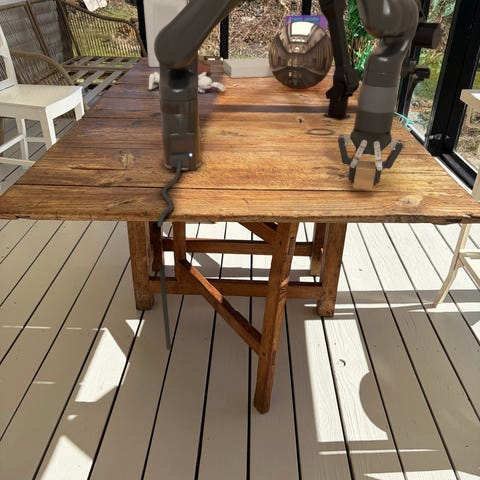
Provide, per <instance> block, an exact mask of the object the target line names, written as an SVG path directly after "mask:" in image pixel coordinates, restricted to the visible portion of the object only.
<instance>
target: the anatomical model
mask: <svg viewBox="0 0 480 480" xmlns="http://www.w3.org/2000/svg"><path fill="white" fill-rule="evenodd" d="M211 67H212V66H211V62H210V60H209V59H208V57H207V56H206V55H201V54H200V53H198V75H200V74H204V73H203V72H206V76H207V75H209V74H210V72H211Z"/></svg>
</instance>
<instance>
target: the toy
mask: <svg viewBox="0 0 480 480" xmlns="http://www.w3.org/2000/svg"><path fill="white" fill-rule="evenodd" d="M203 73H204V74H200V75H198V76H199V81H198V93H201V94H203V93H205V92H206V90H210V89H212V88H216V89H217V88H218V90H220V91H221V92H223V93H224V92H225V91H227V88H226V86H225V85H224V84H223V83H221V82H219V81H218V82H217V81H214V82H213V80H212V78H211V77H209V76H207V75H206V72H203ZM159 77H160V72H157V71H154V72H153V73H150V74H149V77H148V91H151V90H154V89H156V88H159Z"/></svg>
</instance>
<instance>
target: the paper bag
mask: <svg viewBox="0 0 480 480" xmlns="http://www.w3.org/2000/svg"><path fill="white" fill-rule="evenodd" d="M187 4H188V0H143V10H144V11H143V13H144V23H145V36H146V48H147V49H146V50H147V59H148V61H147V63H148V67H149V68H159V62H158V60H157V59H156V56H155V52H154V41H155V38H156V36H157V34H158V32H159V31H160V30H161V29H162V28H163V27H164V26H165V25H167V24H169V23H170V22H171V21H172V20H173V19H174V18H175V17H176V16H177V15H178V13H179V12H180V11H181V10H182V9H183V8H184V7H185V6H186V5H187Z"/></svg>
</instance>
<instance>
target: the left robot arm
mask: <svg viewBox="0 0 480 480" xmlns="http://www.w3.org/2000/svg"><path fill="white" fill-rule="evenodd" d="M242 2H243V0H189V1H187V5H186V6H185V7H184V8H183V9H182V10H181V11H180V12H179V13H178V15H177V16H176V17H175V18H174V19H173V20H172V21H171V22H170V23H169V24H167V25H165V26H164V27H163V28H162V29H161V30H160V31H159V32H158V34H157V36H156V38H155V41H154V52H155V56H156V59H157V60H158V62H159V67H158V69H159V74H160V77H159V86H158V96H159V111H160V123H161V124H160V125H161V138H162V139H161V140H162V151H163V166H164V167H165V168H166V169H168V170H170V171H171V172H175V175H174V176H173V179H172V180H171V181H170V182H169V183H168V184H166V185H164V187H163V188H162V190H161V195H162V197H163V199H164V200H165V202H166V203H167V205H168V207H167V208H166V209H163V211H162V212H161V213H160V214H159V217H158V220H157V227H159V228H160V227H163V225H164V221H165V219H166V216H167V215H169V214H170V213H172V211H173V210H174V202H173V200H172V199H171V197H170V196H169V195H168V193H167V192H168V190H170V188H172V187H174V186H175V184H176V183H178V181H179V178H180V175H181V172H187V171H197V168H199V167H200V166H201V165H202V162H201V142H200V113H199V110H200V108H199V91H198V81H199V76H198V54H199V50H200V49H201V47H202V46H203V44H204V43H205V41H207V39H208V37H209V36H210V35H211V34H212V32H213V30H214V29H215V28H216V27H217V26H218V25H219V24H220V23H221V22H222V21H223V20H224V19H225V18H226V17H227V16H228V15H230V14H231V13H232V12H233V11H234V9H236V8H237V7H238V5H240V4H241V3H242ZM356 6H357V10H358V14H359V18H360V22H361V24H362V25H361V26H362V27H363V28H364V30H365V32H366V33H367V34H368V35H369V36H370V37H372V38H374V39H377V40H380V41H379V44H378V46H377V48H375V49H374V50H372V51H370V52H369V53H368V54H367V55H366V58H365V61H364V64H365V66H364V65H363V70H364V72H363V71H362V72H363V73H362V80H361V84H360V89H359V92H358V97H357V102H356V103H357V105H356V112H355V118H354V126H353V129H352V131H351V132H350V134H346V135H344V134H339V135H338V137H337V143H338V148H339V153H340V158H341V162H342V165H347V166H348V167H349V169H348V175H347V179H348V180H347V181H350V184H353V183H354V178H355V171H356V164H357V162H358V160H360V159H361V157H362V155H371V156H374V158H375V164H376V172H375V177H374V183H373V187H376V185H377V184H379V183H380V180H381V176H382V171H383V170H385V169H386V170H390V169H391V168H392V167H393V165H394V163H395V162H396V160H397V159H398V157H399V155H400V153H401V151H402V150H403V148H404V144H403V141H402V140H400V139H395V138H393V137H392V134H391V133H392V132H391V131H392V126H393V122H394V117H395V111H396V105H397V101H398V90H399V83H400V78H401V76H400V73H401V67H402V62H403V60H404V58H405V56H406V53H407V51H408V49H409V46H410V44H411V42H412V39H413V37H414V34H415V31H416V28H417V24H418V7H417V5H416V3H415V1H414V0H356ZM411 45H412V44H411ZM350 141H351V142H352V144H353V146H354V148H355V149H354V152H353V155H352V157H349V154H348V149H347V147H348V145H349V142H350ZM389 145H390V153H389V154H388V156H387V158H386V160H383V158H382V152H383V150H384V149H386V148H387V147H388V146H389ZM165 266H166V265H165V264H162V265H161V264H160V265H159V278H160V291H161V292H160V293H161V302H162V303H161V304H162V313H163V325H164V335H165V347H166V350H167V351H170V350H172V345H171V332H170V331H171V330H170V321H169V309H168V300H167V299H168V297H167V284H166V269H165V268H166V267H165Z"/></svg>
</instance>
